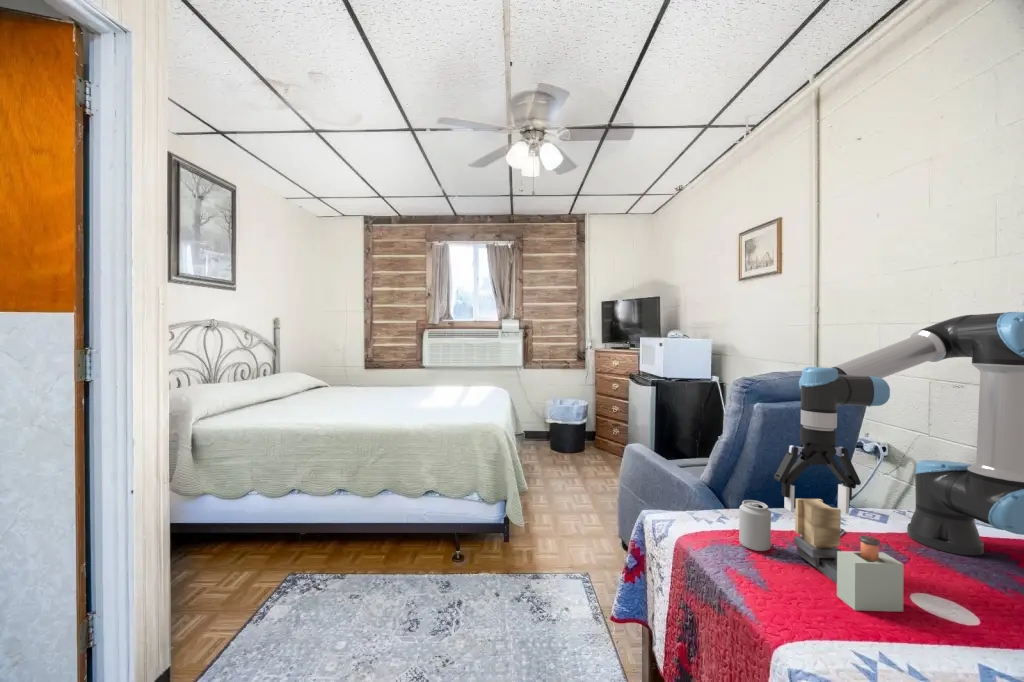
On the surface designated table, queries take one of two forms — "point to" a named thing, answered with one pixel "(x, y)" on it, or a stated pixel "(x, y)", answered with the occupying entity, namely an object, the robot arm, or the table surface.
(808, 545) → the carriage
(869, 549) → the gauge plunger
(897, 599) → the grey hollow block
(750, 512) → the can
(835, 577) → the rail
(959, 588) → the table surface
